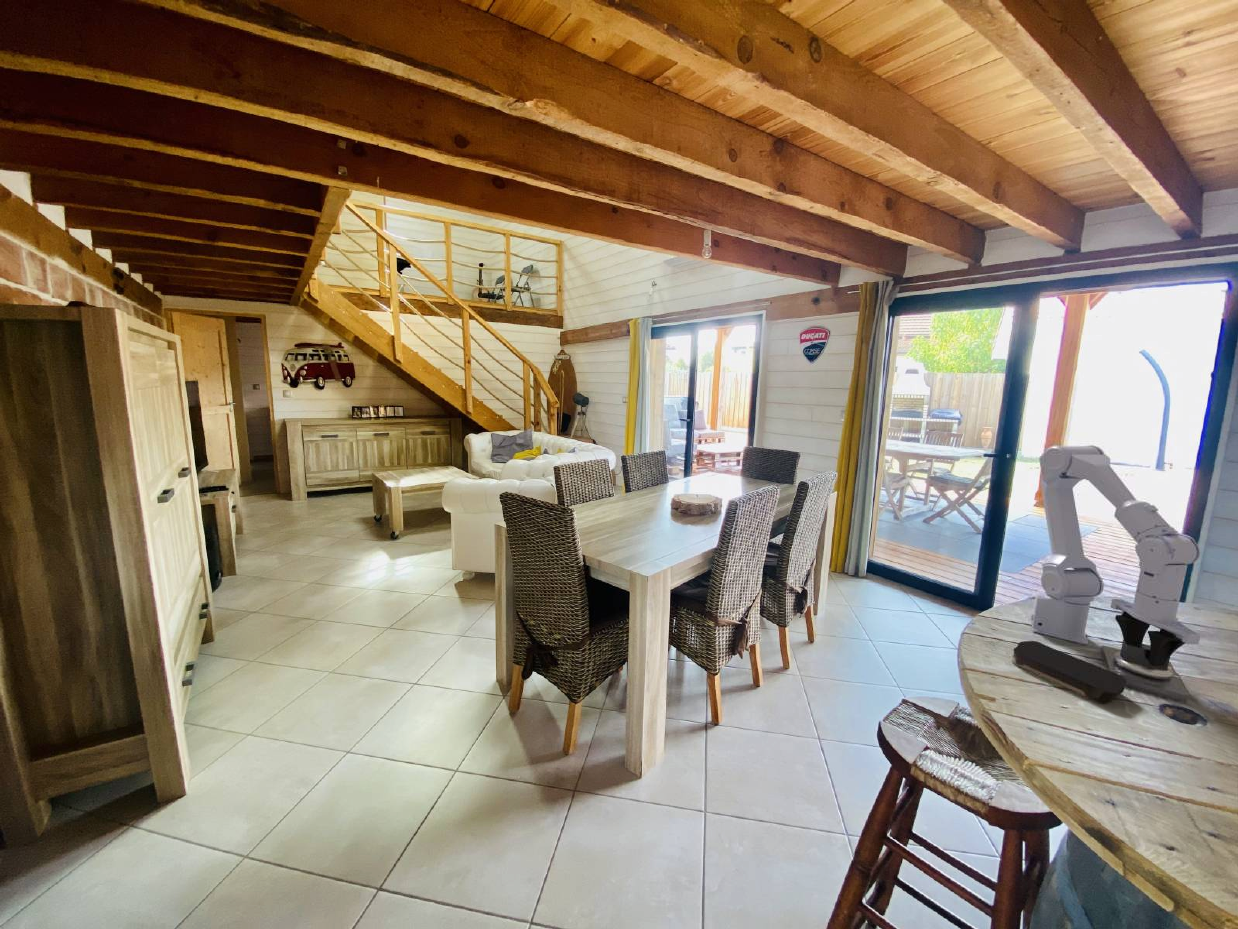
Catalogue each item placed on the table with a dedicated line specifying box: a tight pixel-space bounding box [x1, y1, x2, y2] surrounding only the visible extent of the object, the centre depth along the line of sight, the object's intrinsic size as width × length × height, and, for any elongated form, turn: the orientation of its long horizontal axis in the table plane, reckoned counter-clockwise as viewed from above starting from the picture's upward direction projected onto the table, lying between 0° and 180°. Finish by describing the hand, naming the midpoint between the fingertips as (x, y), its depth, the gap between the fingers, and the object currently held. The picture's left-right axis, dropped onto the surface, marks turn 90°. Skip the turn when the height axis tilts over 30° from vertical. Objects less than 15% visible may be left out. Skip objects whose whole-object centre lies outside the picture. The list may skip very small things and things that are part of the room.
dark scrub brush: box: [1011, 640, 1127, 704], centre depth 95 cm, size 16×8×4 cm, turn 25°
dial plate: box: [1100, 644, 1190, 704], centre depth 96 cm, size 10×14×2 cm
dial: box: [1114, 639, 1173, 679], centre depth 96 cm, size 8×8×4 cm
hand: (1143, 658), depth 96 cm, fingers closed on dial, 4 cm apart
